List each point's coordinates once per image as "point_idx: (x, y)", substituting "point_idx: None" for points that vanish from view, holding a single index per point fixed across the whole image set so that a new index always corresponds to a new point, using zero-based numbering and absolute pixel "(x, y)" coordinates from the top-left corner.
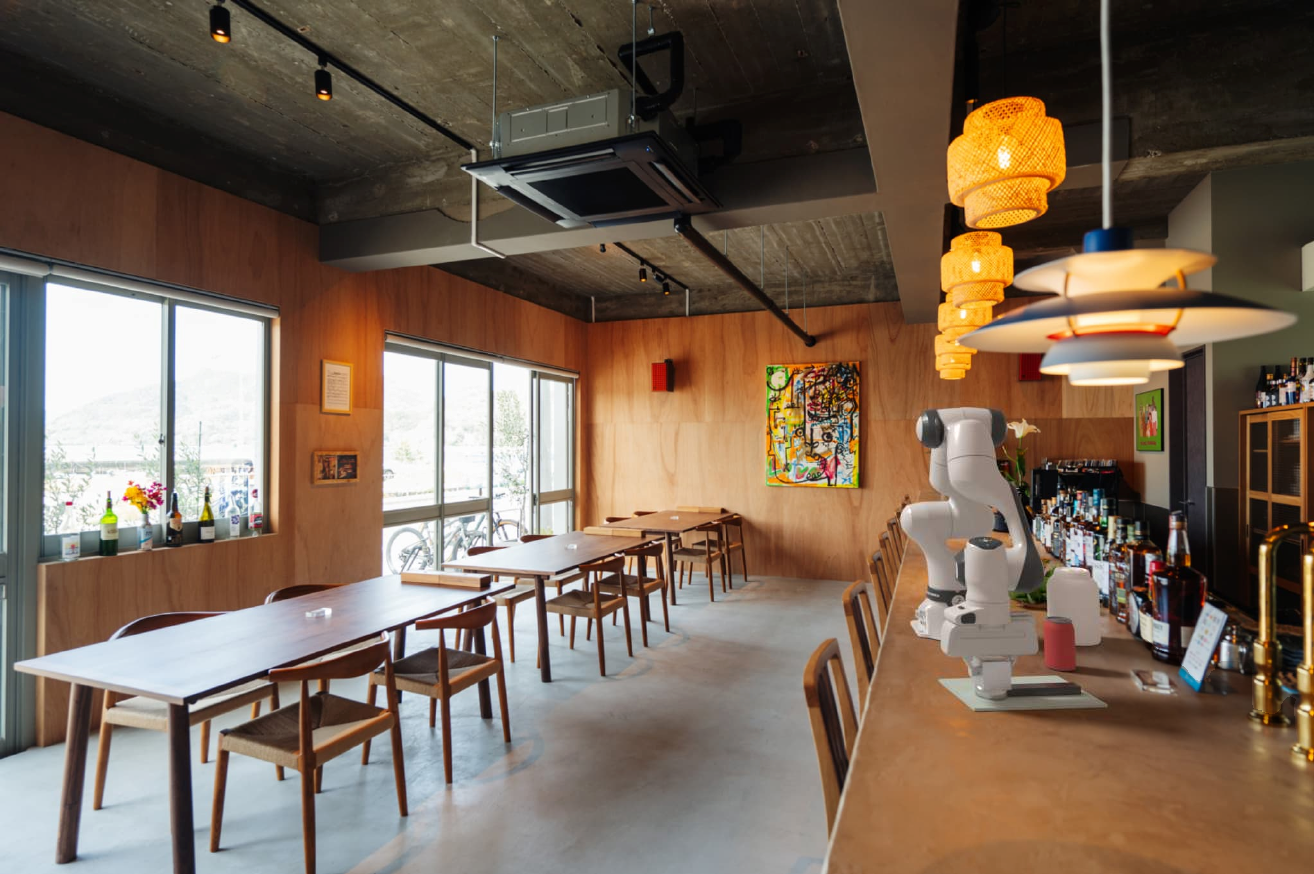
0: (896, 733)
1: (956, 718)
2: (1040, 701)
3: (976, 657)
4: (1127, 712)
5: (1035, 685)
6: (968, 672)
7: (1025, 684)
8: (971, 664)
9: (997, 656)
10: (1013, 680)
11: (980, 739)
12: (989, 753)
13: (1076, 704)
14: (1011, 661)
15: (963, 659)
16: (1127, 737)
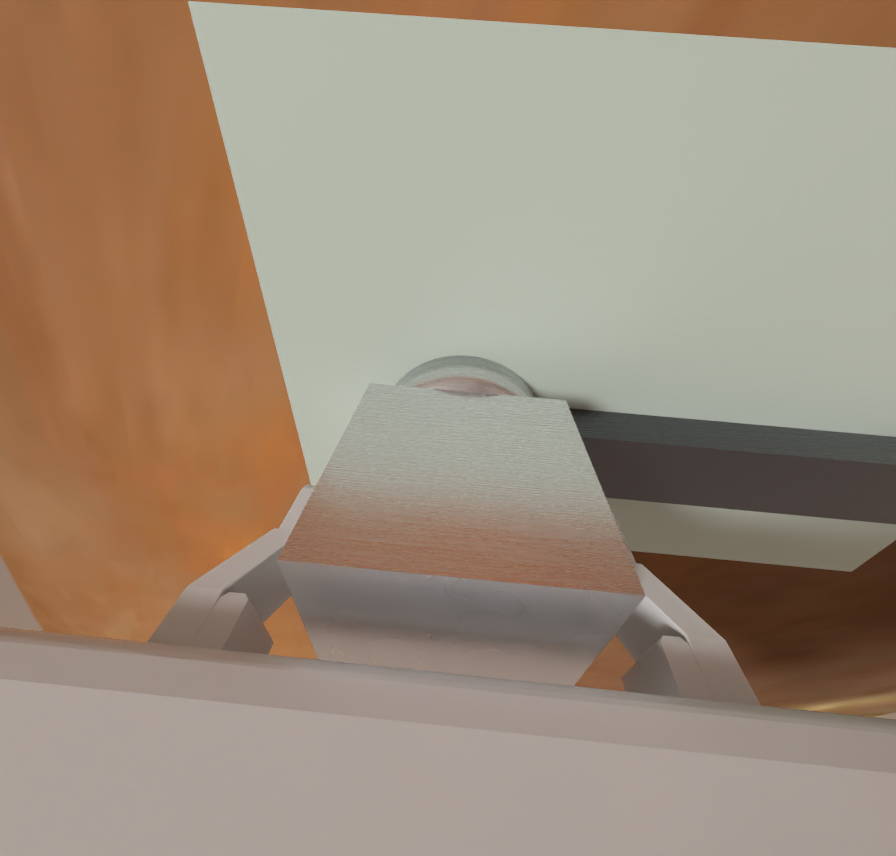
0: (78, 572)
1: (249, 538)
2: (625, 517)
3: (319, 630)
4: (841, 592)
5: (731, 481)
6: (301, 491)
7: (692, 460)
8: (274, 604)
9: (549, 651)
10: (858, 191)
11: (287, 616)
12: (289, 645)
13: (734, 554)
14: (636, 641)
15: (198, 589)
16: (630, 656)
